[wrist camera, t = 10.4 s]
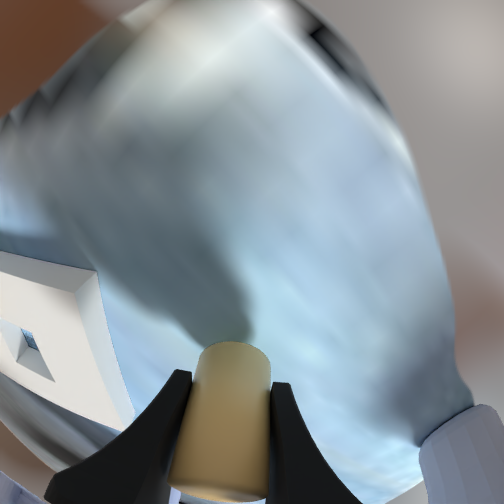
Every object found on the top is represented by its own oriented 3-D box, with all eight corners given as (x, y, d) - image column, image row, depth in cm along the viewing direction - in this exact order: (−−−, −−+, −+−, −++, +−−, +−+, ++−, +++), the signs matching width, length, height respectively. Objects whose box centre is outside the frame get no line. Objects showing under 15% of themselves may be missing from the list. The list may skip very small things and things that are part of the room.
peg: (265, 391, 12) (261, 504, 6) (199, 383, 12) (173, 493, 7) (275, 345, 11) (277, 483, 5) (198, 336, 11) (159, 468, 5)
